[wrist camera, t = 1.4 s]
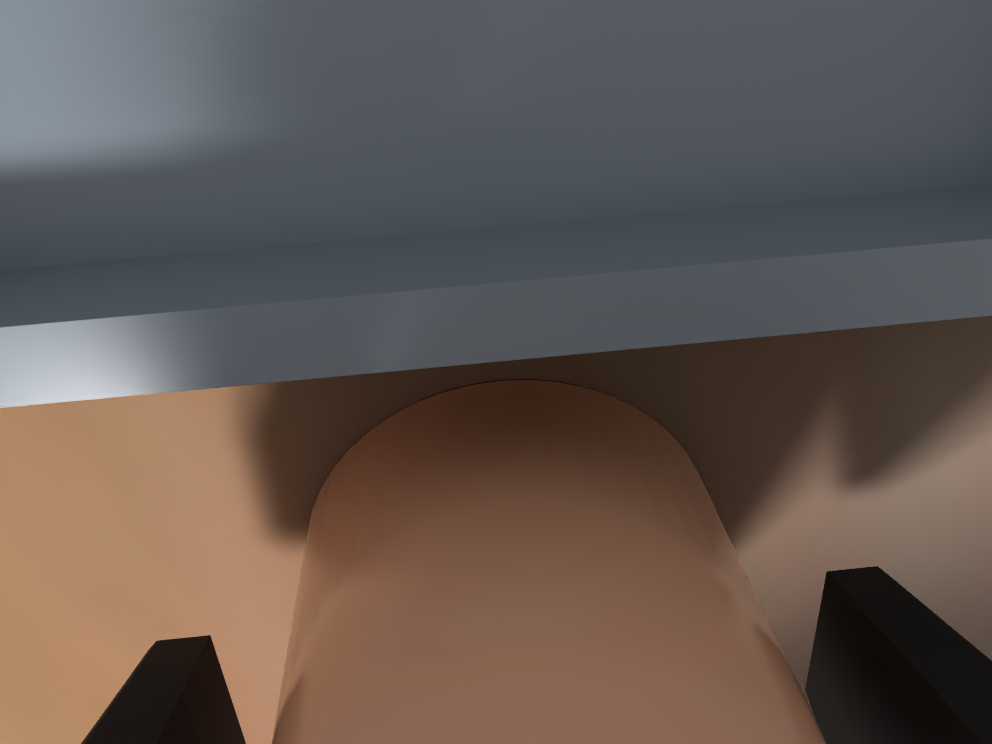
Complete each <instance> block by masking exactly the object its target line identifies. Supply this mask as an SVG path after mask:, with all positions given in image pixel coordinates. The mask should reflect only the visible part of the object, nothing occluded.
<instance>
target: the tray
mask: <svg viewBox="0 0 992 744" xmlns="http://www.w3.org/2000/svg"><path fill="white" fill-rule="evenodd" d="M983 316H992V0H0V408H4V407H15V406H26V405H36V404H47V403H58V402H69V401H79V400H90V399H101V398H112V397H122V396H133V395H144V394H155V393H166V392H176V391H187V390H198V389H209V388H219V387H230V386H241V385H252V384H262V383H273V382H284V381H295V380H305V379H316V378H327V377H338V376H349V375H359V374H370V373H381V372H392V371H402V370H413V369H424V368H435V367H445V366H456V365H467V364H478V363H488V362H499V361H510V360H521V359H531V358H542V357H553V356H564V355H575V354H585V353H596V352H607V351H618V350H628V349H639V348H650V347H661V346H671V345H682V344H693V343H704V342H714V341H725V340H736V339H747V338H757V337H768V336H779V335H790V334H801V333H811V332H822V331H833V330H844V329H854V328H865V327H876V326H887V325H897V324H908V323H919V322H930V321H940V320H951V319H962V318H973V317H983Z"/></svg>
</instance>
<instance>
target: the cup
mask: <svg viewBox="0 0 992 744" xmlns="http://www.w3.org/2000/svg"><path fill="white" fill-rule="evenodd" d="M272 744H827V743H826V741H825V739H824V737H823V735H822V733H821V731H820V729H819V727H818V724H817V722H816V720H815V718H814V716H813V714H812V712H811V710H810V708H809V705H808V703H807V701H806V699H805V697H804V695H803V693H802V691H801V689H800V686H799V684H798V682H797V680H796V678H795V676H794V674H793V672H792V670H791V667H790V665H789V663H788V661H787V659H786V657H785V655H784V653H783V651H782V648H781V646H780V644H779V642H778V640H777V638H776V636H775V634H774V632H773V629H772V627H771V625H770V623H769V621H768V619H767V617H766V615H765V613H764V610H763V608H762V606H761V604H760V602H759V600H758V598H757V596H756V594H755V591H754V589H753V587H752V585H751V583H750V581H749V579H748V577H747V575H746V572H745V570H744V568H743V566H742V564H741V562H740V560H739V558H738V556H737V553H736V551H735V549H734V547H733V545H732V543H731V541H730V539H729V537H728V534H727V532H726V530H725V528H724V526H723V524H722V522H721V520H720V518H719V515H718V513H717V511H716V509H715V507H714V505H713V503H712V501H711V499H710V496H709V494H708V492H707V490H706V488H705V486H704V484H703V482H702V480H701V477H700V475H699V473H698V471H697V470H696V468H695V466H694V464H693V463H692V461H691V459H690V457H689V456H688V454H687V453H686V451H685V450H684V449H683V448H682V447H681V445H680V444H679V443H678V442H677V440H676V439H675V438H674V437H673V436H672V435H671V434H670V433H669V432H668V431H667V430H665V429H664V428H663V427H662V426H661V425H660V424H659V423H658V422H656V421H655V420H654V419H652V418H651V417H649V416H648V415H646V414H645V413H643V412H642V411H640V410H638V409H637V408H635V407H634V406H632V405H629V404H627V403H625V402H623V401H621V400H619V399H617V398H615V397H613V396H610V395H607V394H604V393H601V392H598V391H595V390H592V389H588V388H585V387H581V386H575V385H570V384H565V383H560V382H551V381H537V380H512V381H495V382H489V383H482V384H476V385H469V386H465V387H462V388H458V389H454V390H451V391H447V392H443V393H440V394H437V395H435V396H432V397H430V398H427V399H425V400H422V401H420V402H417V403H415V404H412V405H411V406H409V407H407V408H405V409H403V410H401V411H400V412H398V413H396V414H394V415H392V416H390V417H389V418H387V419H386V420H384V421H383V422H382V423H380V424H379V425H377V426H376V427H375V428H373V429H372V430H370V431H369V432H368V433H366V434H365V435H364V436H363V437H362V438H361V439H360V440H359V441H358V442H357V443H355V444H354V445H353V446H352V447H351V448H350V449H349V450H348V451H347V452H346V453H345V455H344V456H343V457H342V458H341V460H340V461H339V462H338V463H337V465H336V466H335V467H334V468H333V470H332V471H331V473H330V474H329V476H328V478H327V479H326V481H325V483H324V485H323V486H322V488H321V490H320V492H319V494H318V497H317V499H316V502H315V505H314V507H313V510H312V513H311V518H310V523H309V528H308V532H307V538H306V544H305V550H304V556H303V562H302V568H301V574H300V579H299V585H298V591H297V597H296V603H295V609H294V615H293V621H292V627H291V632H290V638H289V644H288V650H287V656H286V662H285V668H284V674H283V679H282V685H281V691H280V697H279V703H278V709H277V715H276V721H275V727H274V732H273V738H272Z"/></svg>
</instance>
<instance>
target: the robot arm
mask: <svg viewBox="0 0 992 744" xmlns="http://www.w3.org/2000/svg"><path fill="white" fill-rule="evenodd" d="M805 690H806V693H807V696H808V698H809V701H810V704H811V707H812V710H813V713H814V716H815V719H816V721H817V724H818V727H819V729H820V731H821V733H822V735H823V737H824V739H825V741H826V743H827V744H992V661H991V660H990V659H989V658H988V657H986V656H985V655H984V654H983V653H982V652H980V651H979V650H978V649H977V648H975V647H974V646H973V645H972V644H971V643H969V642H968V641H967V640H966V639H965V638H963V637H962V636H961V635H960V634H959V633H957V632H956V631H955V630H954V629H952V628H951V627H950V626H949V625H948V624H946V623H945V622H944V621H943V620H942V619H941V618H939V617H938V616H937V615H936V614H935V613H933V612H932V611H931V610H930V609H929V608H927V607H926V606H925V605H924V604H923V603H921V602H920V601H919V600H918V599H917V598H915V597H914V596H913V595H912V594H911V593H909V592H908V591H907V590H906V589H905V588H903V587H902V586H901V585H900V584H899V583H897V582H896V581H895V580H894V579H893V578H891V577H890V576H889V575H888V574H886V573H885V572H884V571H883V570H881V569H880V568H879V567H878V566H876V567H866V568H856V569H847V570H837V571H827V573H826V578H825V584H824V589H823V595H822V600H821V606H820V611H819V617H818V622H817V628H816V633H815V639H814V644H813V650H812V655H811V661H810V666H809V672H808V678H807V683H806V689H805ZM81 744H246V743H245V740H244V736H243V733H242V730H241V727H240V724H239V721H238V718H237V715H236V712H235V709H234V706H233V703H232V700H231V697H230V694H229V691H228V688H227V685H226V682H225V679H224V676H223V673H222V670H221V667H220V664H219V661H218V658H217V655H216V651H215V648H214V645H213V642H212V639H211V636H210V635H209V636H199V637H189V638H180V639H170V640H160V641H156V642H155V643H154V645H153V646H152V647H151V648H150V649H149V650H148V652H147V653H146V654H145V656H144V657H143V659H142V660H141V661H140V663H139V664H138V666H137V667H136V668H135V670H134V671H133V672H132V674H131V675H130V677H129V678H128V679H127V681H126V682H125V684H124V685H123V686H122V688H121V689H120V691H119V692H118V693H117V695H116V696H115V698H114V699H113V700H112V702H111V703H110V705H109V706H108V707H107V709H106V710H105V712H104V713H103V714H102V716H101V717H100V719H99V720H98V721H97V723H96V724H95V725H94V727H93V728H92V729H91V731H90V732H89V734H88V735H87V736H86V738H85V739H84V740H83V742H82V743H81Z"/></svg>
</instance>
